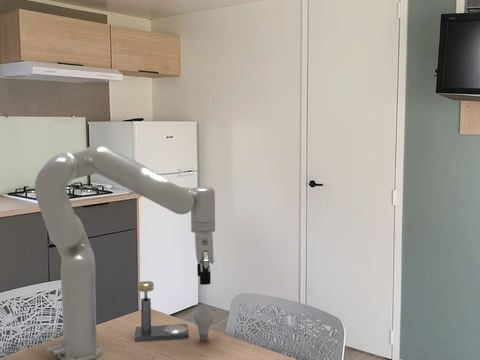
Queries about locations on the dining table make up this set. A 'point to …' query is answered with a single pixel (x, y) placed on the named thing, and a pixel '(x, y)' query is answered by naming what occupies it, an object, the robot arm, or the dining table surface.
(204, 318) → the lightbulb
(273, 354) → the dining table surface
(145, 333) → the metal press stand
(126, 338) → the dining table surface
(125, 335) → the dining table surface
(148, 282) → the brass knob
